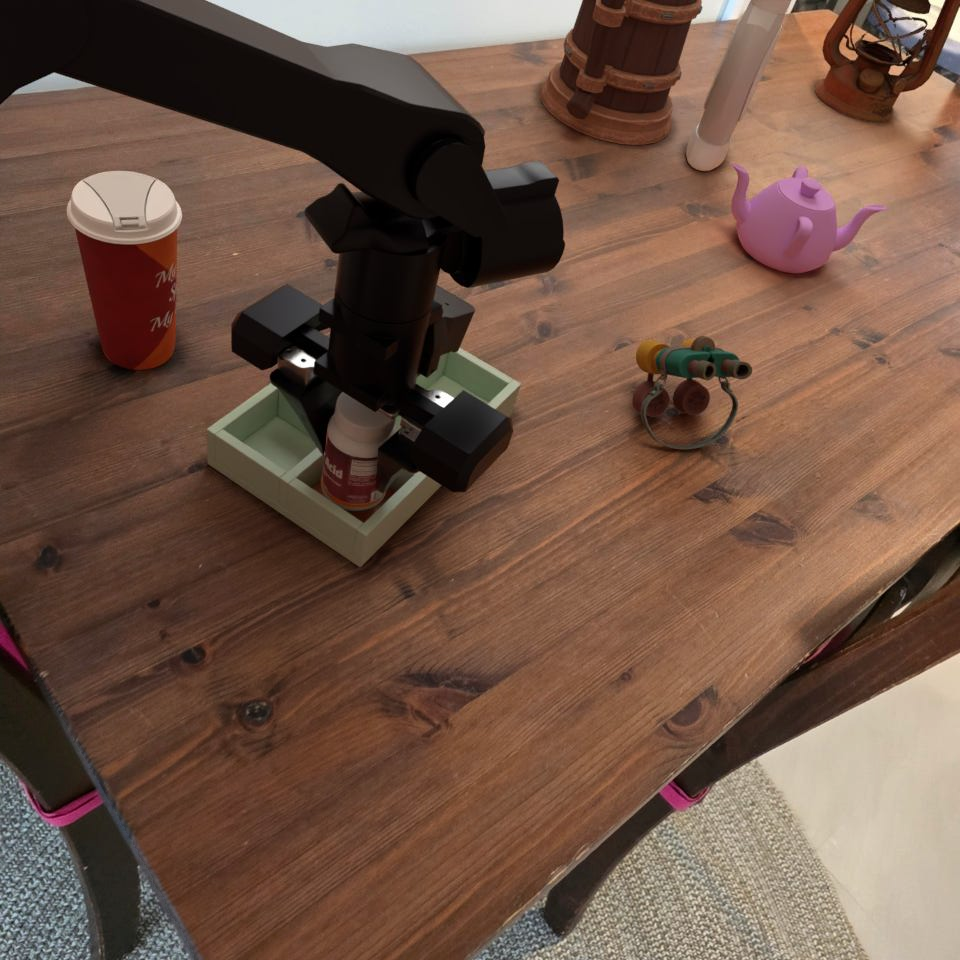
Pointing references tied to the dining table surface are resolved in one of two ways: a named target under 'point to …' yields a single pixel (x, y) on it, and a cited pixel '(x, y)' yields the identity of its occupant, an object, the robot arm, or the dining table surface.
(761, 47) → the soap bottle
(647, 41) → the mug
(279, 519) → the dining table surface
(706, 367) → the binoculars
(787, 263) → the teapot
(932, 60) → the lantern
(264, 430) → the divided tray
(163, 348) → the paper cup
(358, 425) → the pill bottle
